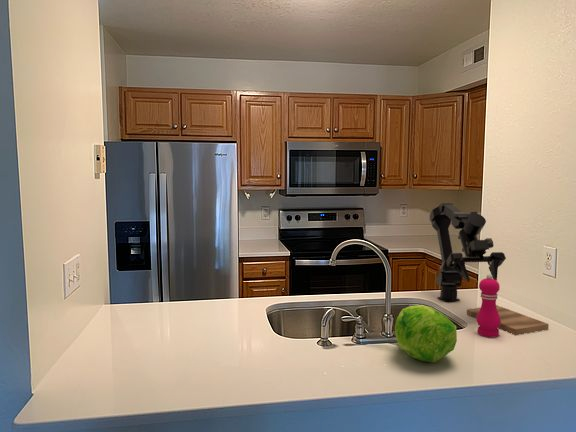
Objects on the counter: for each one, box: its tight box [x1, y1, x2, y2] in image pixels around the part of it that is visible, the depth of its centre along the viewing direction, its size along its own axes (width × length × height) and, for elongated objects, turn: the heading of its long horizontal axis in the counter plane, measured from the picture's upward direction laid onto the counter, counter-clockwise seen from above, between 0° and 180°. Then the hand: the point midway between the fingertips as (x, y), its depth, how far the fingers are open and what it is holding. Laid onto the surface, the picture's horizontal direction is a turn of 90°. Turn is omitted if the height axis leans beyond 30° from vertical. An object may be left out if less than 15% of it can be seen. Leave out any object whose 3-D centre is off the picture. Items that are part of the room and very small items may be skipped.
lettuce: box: [394, 304, 458, 363], centre depth 121 cm, size 17×20×15 cm
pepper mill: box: [475, 273, 501, 338], centre depth 137 cm, size 7×7×20 cm
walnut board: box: [466, 304, 549, 336], centre depth 148 cm, size 22×14×2 cm, turn 18°
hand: (482, 281), depth 143 cm, fingers open, 9 cm apart
